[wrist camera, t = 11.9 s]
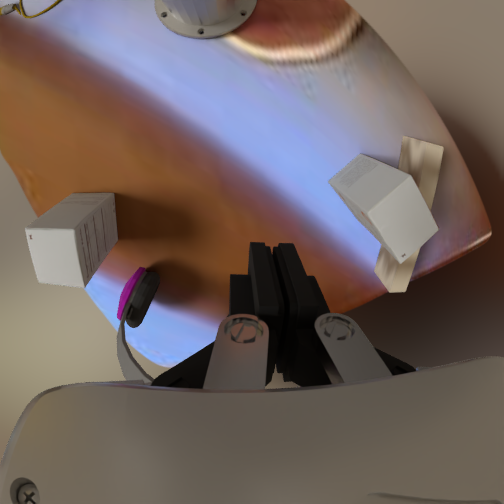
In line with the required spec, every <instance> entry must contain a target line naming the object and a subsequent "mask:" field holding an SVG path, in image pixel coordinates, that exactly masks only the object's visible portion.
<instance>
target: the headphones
mask: <svg viewBox="0 0 504 504" xmlns="http://www.w3.org/2000/svg"><path fill="white" fill-rule="evenodd" d="M159 283H160V277H159V275H158V274H157V273H156V272H146V271H145V268H143V267H140V268H139V269H138V270H137V271H136V272H135V273H134V275H133V276H132V277H131V278H130V279H129V281H128V282H127V283H126V285H125V287H124V289H123V291H122V294H121V296H120V301H119V307H118V313H117V318H118V319H119V320H120V321H121V322H120V326H119V330H118V335H117V355H118V359H119V362H120V366H121V369H122V372H123V375H124V377H125V379H126V380H127V381H128V380H141V379H143V381H144V383H148V382H153V381H154V379H153V378H152V377H151V376H149V375H148V374H147V373H146V372H145V371H144V370H143V369H142V367H141V366H140V365H139V364H138V363H137V361H136V360H135V359H134V358H133V356H132V354H131V352H130V349H129V347H128V345H127V343H126V340H125V328H124V323H125V320H126V322H127V324H128V325H129V326H130V327H132V328H135V327H138V326H139V325H140V324H141V323H142V321H143V319H144V317H145V315H146V313H147V311H148V308H149V306H150V304H151V302H152V300H153V297H154V295H155V293H156V291H157V288H158V286H159ZM227 317H229V315H228V316H227ZM227 317H226V318H227Z"/></svg>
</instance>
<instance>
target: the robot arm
mask: <svg viewBox="0 0 504 504" xmlns="http://www.w3.org/2000/svg"><path fill="white" fill-rule="evenodd" d="M256 3H257V0H155V10H156V14H157V16H158V18H159V20H160V21H161V22H162V23H163V25H165V26H166V27H167V28H168V29H169V30H171V31H172V32H174V33H176V34H178V35H181V36H184V37H189V38H196V39H205V38H213V37H217V36H221V35H224V34H226V33H229V32H231V31H233V30H235V29H236V28H238V27H239V26H241V25H242V24H243V23H244V22H245V21H246V20H247V19H248V18H249V17H250V15H251V14H252V13H253V11H254V8H255V6H256ZM241 14H245V16H241ZM165 15H167V17H165V18H164V16H165ZM200 32H204V34H200ZM275 364H276V368H277V372H278V373H283V378H284V382H289V381H292V382H294V383H296V384H297V385H298V386H297V388H280V389H265V386H266V385H267V384H268V383H269V382H271V380H272V375H273V373H274V369H275ZM0 504H504V357H480V358H474V359H470V360H465V361H461V362H456V363H452V364H448V365H443V366H439V367H417V369H416V370H415V369H414V368H413V367H412V366H410V365H409V364H407V363H405V362H403V361H401V360H399V359H397V358H395V357H392V356H391V355H388V354H387V353H385V352H382V351H381V350H379V349H376V348H374V347H373V346H372V345H371V344H370V342H369V341H368V339H367V338H366V336H365V335H364V333H363V332H362V330H361V329H360V328H359V326H358V325H357V324H356V323H355V322H354V321H353V320H352V319H351V318H349V317H347V316H345V315H342V314H338V313H330V310H329V308H328V306H327V303H326V301H325V299H324V297H323V294H322V292H321V290H320V287H319V285H318V283H317V281H316V278H315V277H314V276H307V275H306V272H305V270H304V268H303V265H302V263H301V260H300V258H299V256H298V253H297V251H296V248H295V246H294V244H292V243H279V245H278V247H273V254H272V253H271V249H270V246H265V243H260V242H250V249H249V264H248V275H236V274H230V305H229V317H227V318H225V319H224V320H223V321H222V322H221V324H220V326H219V328H218V332H217V336H216V340H215V341H214V342H212V343H211V344H209V345H208V346H206V347H205V348H203V349H201V350H200V351H198V352H197V353H195V354H193V355H192V356H190V357H189V358H187V359H185V360H184V361H182V362H181V363H179V364H177V365H176V366H174V367H172V368H171V369H169V370H168V371H166V372H164V373H163V374H161V375H159V376H158V377H157V378H156V379H154V381H153V382H148V383H144V381H143V379H141V380H128V381H110V382H86V383H75V384H69V385H62V386H58V387H54V388H51V389H48V390H45V391H43V392H41V393H40V394H38V395H37V396H36V397H34V398H33V399H32V400H31V401H30V403H29V404H28V405H27V406H26V408H25V409H24V411H23V412H22V415H21V416H20V418H19V420H18V421H17V423H16V426H15V428H14V430H13V432H12V434H11V436H10V439H9V441H8V444H7V447H6V450H5V452H4V455H3V458H2V461H1V464H0Z"/></svg>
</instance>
